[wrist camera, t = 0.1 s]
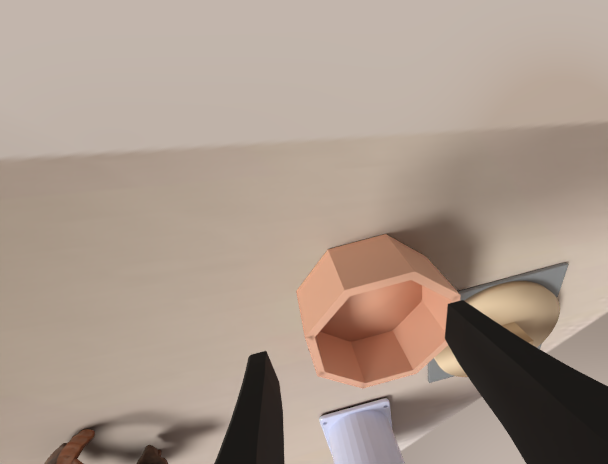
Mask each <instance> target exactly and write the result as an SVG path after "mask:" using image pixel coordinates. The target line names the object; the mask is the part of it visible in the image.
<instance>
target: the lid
mask: <svg viewBox="0 0 608 464" xmlns="http://www.w3.org/2000/svg"><path fill="white" fill-rule="evenodd" d="M464 301H465V302H467V303H468V304H470V305H471V306H473V307H474V308H476V309H477V310H479V311H480V312H482V313H483V314H485V315H486V316H488V317H489V318H491V319H492V320H494V321H495V322H497V323H498V324H500V325H501V326H503V327H505V328H506V329H508V330H509V331H511V332H512V333H514V334H516V335H517V336H519V337H520V338H522V339H524V340H525V341H527V342H528V343H530V344H531V345H533V346H535V347H536V348H537V347H538V346H539V345H540V344H542V343H543V342H544V340H545V339H546V338H547V337H548V336H549V334H550V333H551V332H552V330H553V329H554V327H555V325H556V323H557V321H558V317H559V313H560V305H559V302H558V299H557V298H556V296H555V295H554V294H553V293H552V292H550V291H549V290H548V289H546V288H545V287H544V286H542V285H540V284H538V283H535V282H531V281H511V282H505V283H501V284H498V285H494V286H491V287H489V288H486V289H484V290H482V291H480V292H478V293H476V294H474V295H472V296H471V297H469V298H467V299H466V300H464ZM434 359H435V360H436V362H437V364H438V365H439V367H440V368H441V369H442V370H443V371H445V372H446V373H448V374H451V375H454V376H459V377H468V376H467V375H466V373H465V372H464V370H463V369H462V367H461V366H460V365H459V363H458V361H457V360H456V358H455V356H454V354H453V353H452V351H451V349H450V347H449V345H448V346H447V347H446V348H445V349H443V350H442V351H441V352H440V353H439V354H438V355H437V356H436V357H434Z"/></svg>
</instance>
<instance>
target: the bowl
mask: <svg viewBox="0 0 608 464" xmlns="http://www.w3.org/2000/svg"><path fill="white" fill-rule="evenodd" d="M296 292H297V297H298V303H299V308H300V313H301V319H302V324H303V329H304V335H305V339H306V342H307V345H308V348H309V351H310V354H311V357H312V360H313V364H314V367H315V370H316V373H317V376H319V377H323V378H326V379H330V380H334V381H337V382H341V383H345V384H349V385H352V386H356V387H360V388H366V387H370V386H373V385H377V384H380V383H384V382H388V381H391V380H395V379H399V378H402V377H406V376H409V375H413V374H416V373H418V372H419V371H420V370H421V369H422V368H423V367H424V366H425V365H427V364H428V363H429V362H430V361H431V360H432V359H433V358H434V357H436V356H437V355H438V354H439V353H440V352H441V351H442V350H443V349H445V348H446V347H447V346H448V344H447V342H446V340H445V329H446V318H447V307H448V304H449V303H453V302H457V301H460V296H461V295H460V294H459V293H458V292H457V291H456V289H455V288H454V287H453V286H452V285H451V284H450V283H449V282H448V281H447V279H446V278H445V277H444V276H443V275H442V274H441V273H440V272H439V271H438V269H437V268H436V267H435V266H434V265H433V264H432V263H431V262H430V261H429V260H428V258H427V257H426V256H424V255H422V254H420V253H419V252H417V251H415V250H413V249H411V248H410V247H408V246H406V245H404V244H403V243H401V242H399V241H397V240H395V239H394V238H392V237H390V236H388V235H386V234H384V235H380V236H376V237H373V238H369V239H365V240H361V241H358V242H354V243H350V244H346V245H343V246H339V247H335V248H331V249H328V250H327V251H326V253H325V254H324V255H323V257H322V258H321V259H320V261H319V262H318V263H317V265H316V266H315V267H314V269H313V270H312V271H311V273H310V274H309V275H308V276H307V278H306V279H305V280H304V282H303V283H302V284H301V286H300V287H299V288H298V290H297V291H296Z"/></svg>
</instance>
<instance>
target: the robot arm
mask: <svg viewBox="0 0 608 464" xmlns="http://www.w3.org/2000/svg"><path fill="white" fill-rule="evenodd" d="M445 340H446V342H447V344H448V345H449V347H450V349H451V351H452V353H453V354H454V356H455V358H456V360H457V361H458V363H459V365H460V366H461V367H462V369H463V370H464V372H465V373H466V375H467V376H468V377H469V379H470V380H471V382H472V383H473V384H474V386H475V387H476V389H477V390H478V391H479V393H480V394H481V396H482V397H483V398H484V400H485V401H486V403H487V404H488V405H489V407H490V408H491V409H492V411H493V412H494V414H495V415H496V416H497V418H498V419H499V421H500V422H501V423H502V425H503V426H504V428H505V429H506V431H507V432H508V434H509V435H510V437H511V438H512V440H513V442H514V444H515V445H516V447H517V448H518V450H519V452H520V453H521V455H522V457H523V458H524V460H525V462H526V463H527V464H608V386H606V385H604V384H602V383H600V382H598V381H596V380H594V379H592V378H590V377H588V376H586V375H584V374H582V373H580V372H578V371H577V370H575V369H573V368H571V367H569V366H567V365H566V364H564V363H562V362H560V361H559V360H557V359H555V358H553V357H552V356H550V355H548V354H547V353H545V352H543V351H541V350H540V349H538V348H536V347H535V346H533V345H531V344H530V343H528V342H527V341H525V340H524V339H522V338H520V337H519V336H517V335H516V334H514V333H512V332H511V331H509V330H508V329H506V328H505V327H503V326H501V325H500V324H498V323H497V322H495V321H494V320H492V319H491V318H489V317H488V316H486V315H485V314H483V313H482V312H480V311H479V310H477V309H476V308H474V307H473V306H471V305H470V304H468V303H467V302H465V301H464V300H461V301H457V302H453V303H449V304H448V307H447V318H446V329H445ZM319 420H320V424H321V427H322V429H323V432H324V435H325V437H326V440H327V443H328V446H329V448H330V451H331V454H332V456H333V460H334V464H405V462H404V460H403V457H402V454H401V452H400V449H399V446H398V444H397V441H396V439H395V436H394V433H393V429H392V420H391V410H390V402H389V400H388V399H387V398H384V399H380V400H376V401H373V402H369V403H366V404H362V405H359V406H355V407H351V408H348V409H344V410H341V411H337V412H333V413H330V414H326V415H323V416H321V417H320V418H319ZM215 464H284V435H283V409H282V401H281V393H280V385H279V381H278V378H277V376H276V373H275V371H274V369H273V366H272V364H271V361H270V359H269V356H268V354H267V352H266V351H264V352H260V353H256V354H253V355H250V356H249V358H248V363H247V367H246V371H245V375H244V379H243V383H242V386H241V390H240V393H239V397H238V400H237V403H236V406H235V409H234V412H233V415H232V418H231V421H230V424H229V427H228V430H227V432H226V435H225V438H224V440H223V443H222V446H221V448H220V451H219V454H218V456H217V459H216V461H215Z"/></svg>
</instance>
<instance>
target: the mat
mask: <svg viewBox="0 0 608 464" xmlns="http://www.w3.org/2000/svg"><path fill="white" fill-rule="evenodd" d="M567 267H568V264H567V263H566V262H565V263H561V264H557V265H554V266H550V267H546V268H543V269H539V270H535V271H532V272H528V273H524V274H520V275H517V276H513V277H509V278H506V279H502V280H498V281H495V282H491V283H487V284H484V285H480V286H476V287H473V288H469V289H465V290H462V291H458V293H459V294H460V295H461V296H460V301H461V300H466V299H467V298H469V297H471V296H472V295H474V294H476V293H478V292H480V291H482V290H484V289H486V288H489V287H491V286H494V285H498V284H501V283H505V282H511V281H531V282H535V283H538V284H540V285H542V286H544V287H545V288H546V289H548V290H549V291H550V292H552V293H553V294H554V295H555V296H556V298H557V297H558V294H559V291H560V288H561V285H562V282H563V279H564V276H565V273H566V270H567ZM540 347H541V344H540V345H539V346H538V347H537V348H538V349H540ZM453 376H454V375H451V374H448V373H446V372H445V371H443V370H442V369H441V368H440V367H439V365H438V364H437V362H436V360H435V359H434V358H433V359H432V360H431V361H430V362H429V363H428V381H429V383H431V382H435V381H438V380H442V379H446V378H449V377H453Z"/></svg>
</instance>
